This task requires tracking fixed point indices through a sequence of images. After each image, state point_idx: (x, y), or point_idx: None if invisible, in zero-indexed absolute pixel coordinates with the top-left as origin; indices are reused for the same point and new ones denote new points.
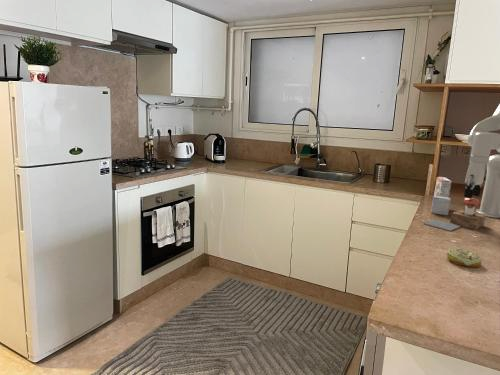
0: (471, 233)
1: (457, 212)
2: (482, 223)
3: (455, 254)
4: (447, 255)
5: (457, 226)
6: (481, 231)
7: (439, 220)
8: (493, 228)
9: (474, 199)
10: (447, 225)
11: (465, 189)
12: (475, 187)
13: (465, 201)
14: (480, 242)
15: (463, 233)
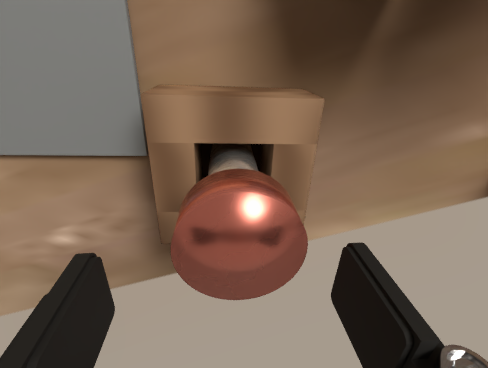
0: (91, 218)
1: (207, 115)
2: None
3: None
4: None
5: (112, 147)
6: None
7: (122, 17)
8: None
9: (250, 270)
10: (63, 105)
11: (10, 353)
12: (400, 360)
13: (183, 208)
14: (7, 274)
15: (46, 199)
